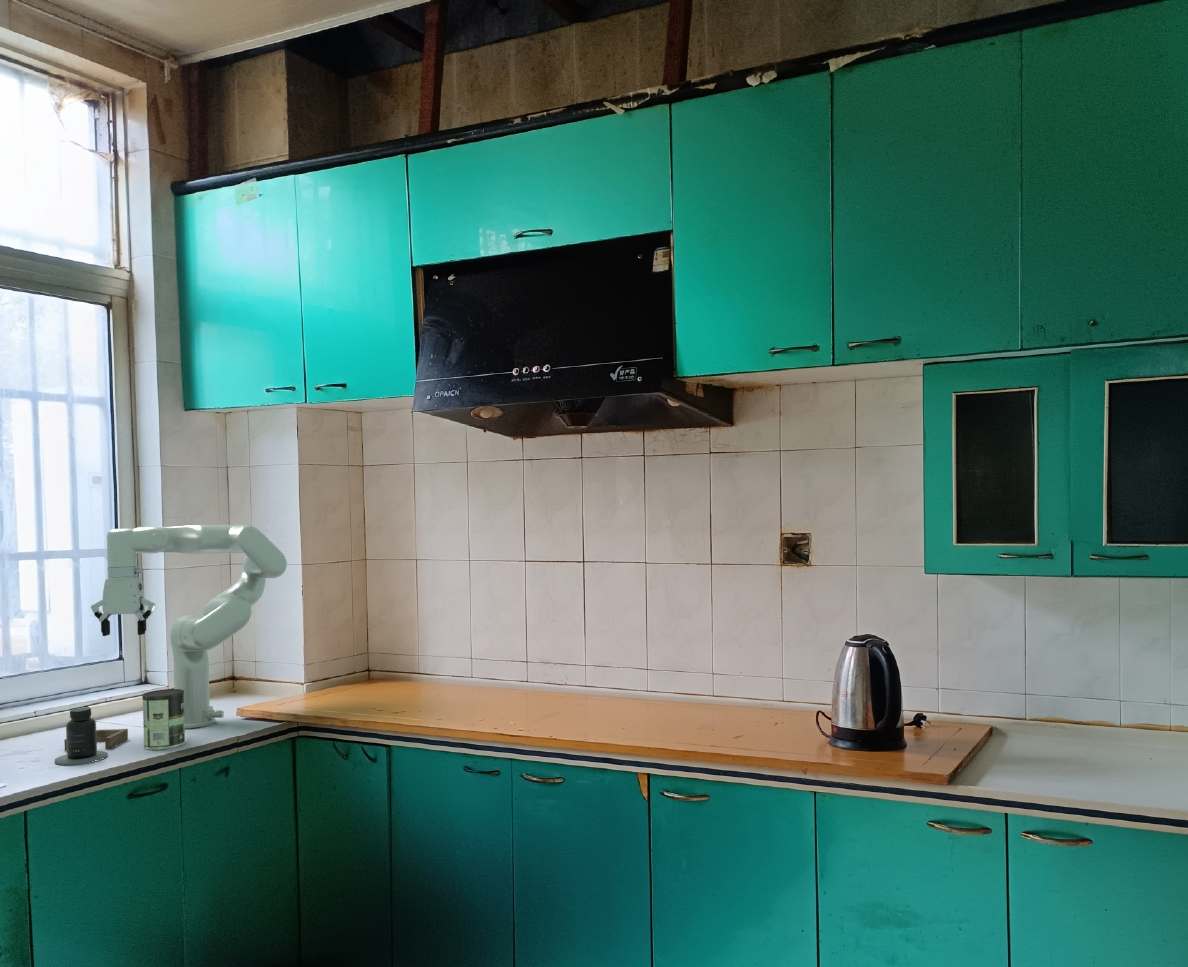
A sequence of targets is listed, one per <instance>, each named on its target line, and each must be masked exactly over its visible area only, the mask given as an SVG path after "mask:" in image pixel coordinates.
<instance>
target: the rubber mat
mask: <svg viewBox="0 0 1188 967" xmlns="http://www.w3.org/2000/svg"><path fill="white" fill-rule="evenodd" d="M107 755H109V754H108V752H107V751H104V750H97V753H96V755H95V756H92V757H89V758H85V759H76V760H73V759H69V758H68V757H67V753H66V754H62V755H60V756H58V757H56V758H55V759H54V764H55V765H57V766H77V765H79V764H81V765H84V764H83V763H87V764H90V763H89V762H92V761H95V760H100V759H102V758H105V759H106V757H107V758H108V756H107ZM100 761H101V760H100ZM92 763H93V762H92Z"/></svg>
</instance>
